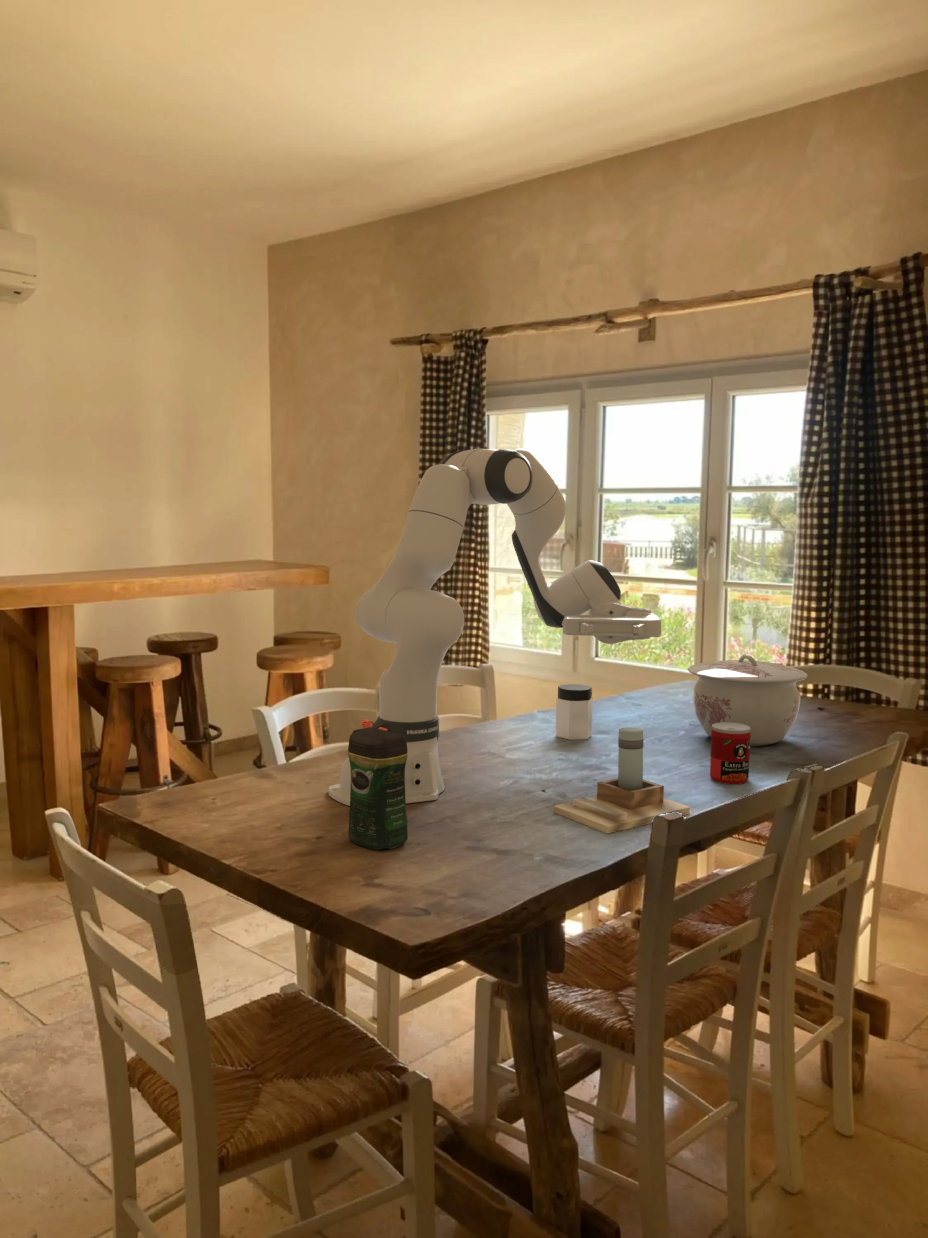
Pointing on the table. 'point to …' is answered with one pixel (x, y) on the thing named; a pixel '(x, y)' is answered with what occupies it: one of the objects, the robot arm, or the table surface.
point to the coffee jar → (377, 788)
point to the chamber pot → (748, 696)
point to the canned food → (730, 752)
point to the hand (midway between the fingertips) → (613, 630)
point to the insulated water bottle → (630, 759)
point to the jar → (574, 712)
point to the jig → (620, 806)
